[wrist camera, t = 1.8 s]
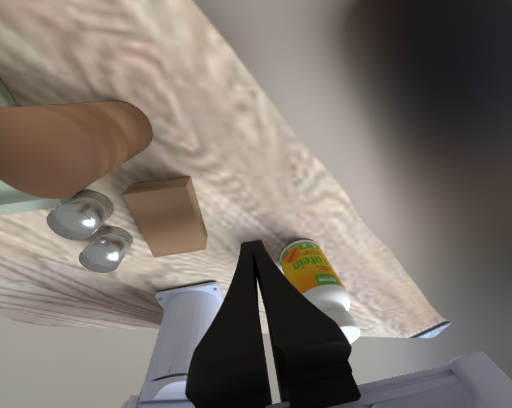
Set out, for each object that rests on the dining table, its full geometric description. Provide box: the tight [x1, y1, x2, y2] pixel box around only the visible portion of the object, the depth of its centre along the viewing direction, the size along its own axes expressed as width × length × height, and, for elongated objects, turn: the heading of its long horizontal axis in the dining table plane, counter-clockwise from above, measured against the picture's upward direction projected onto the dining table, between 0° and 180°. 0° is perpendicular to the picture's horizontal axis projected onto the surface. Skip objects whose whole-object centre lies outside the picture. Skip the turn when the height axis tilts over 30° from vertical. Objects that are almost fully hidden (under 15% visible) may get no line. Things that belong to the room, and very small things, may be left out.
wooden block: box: [122, 176, 207, 257], centre depth 18 cm, size 7×5×2 cm
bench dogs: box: [47, 191, 133, 273], centre depth 17 cm, size 7×3×3 cm, turn 6°
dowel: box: [0, 101, 153, 199], centre depth 11 cm, size 4×4×8 cm
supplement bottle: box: [280, 240, 360, 344], centre depth 20 cm, size 5×5×10 cm
